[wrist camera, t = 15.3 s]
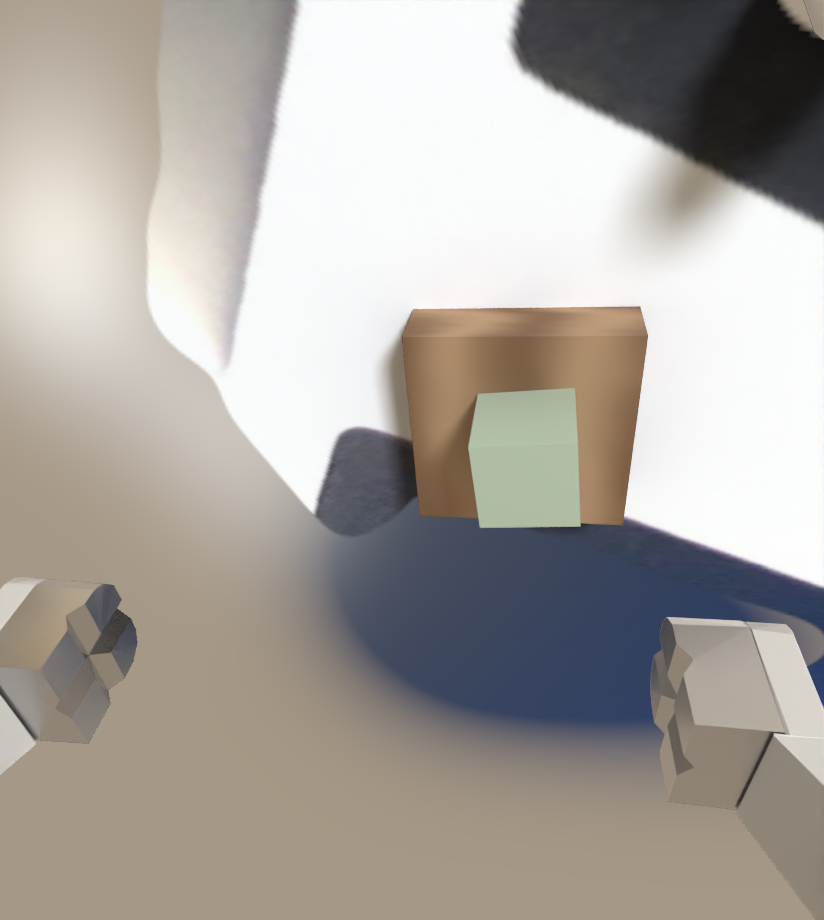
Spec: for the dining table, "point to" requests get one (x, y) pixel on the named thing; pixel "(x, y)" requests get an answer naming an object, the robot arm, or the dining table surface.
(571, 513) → the green cube
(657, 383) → the dining table surface
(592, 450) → the walnut block
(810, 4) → the salt shaker
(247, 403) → the dining table surface
